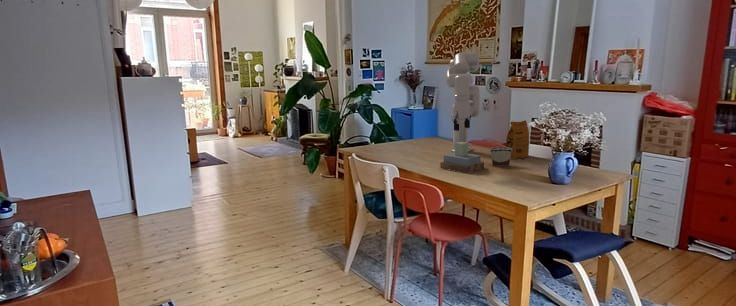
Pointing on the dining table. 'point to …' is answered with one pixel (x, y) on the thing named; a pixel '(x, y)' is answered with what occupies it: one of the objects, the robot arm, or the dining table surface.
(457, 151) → the sage block
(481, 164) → the base block
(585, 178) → the dining table surface
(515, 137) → the coffee package
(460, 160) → the top block
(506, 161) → the food container
